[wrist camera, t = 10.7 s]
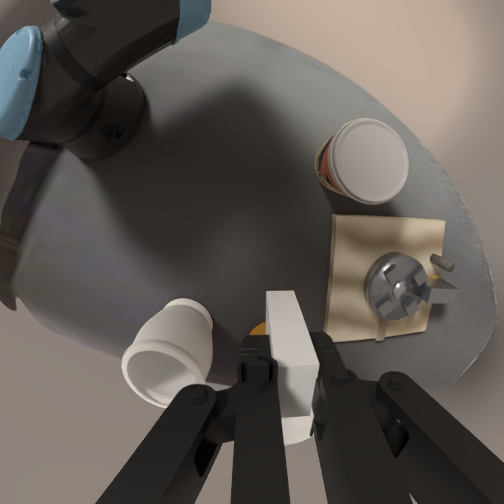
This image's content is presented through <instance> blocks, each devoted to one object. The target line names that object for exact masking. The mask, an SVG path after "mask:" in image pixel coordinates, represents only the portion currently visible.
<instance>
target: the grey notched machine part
mask: <svg viewBox="0 0 504 504" xmlns="http://www.w3.org/2000/svg"><path fill="white" fill-rule="evenodd" d="M363 291H364V297H365V300H366V302H367V303H368V305H369V306H370V307H371V308H372V309H373V311H374V312H375V313H376V314H377V315H378V316H379V317H381V318H382V319H385V320H389V321H394V320H399V319H402V318H404V317H406V316H409V317H411V316H412V315H413V314H415V313H416V312H417V311H418V310H419V307H418V305H419V304H420V302H421V300H424V301H425V302H426V303H455V302H456V298H457V295H458V292H459V289H458V288H456V287H455V286H453V285H451V284H450V283H448V282H446V281H445V280H443V279H432V278H428V276H427V274H426V272H425V269H424V267H423V266H422V264H421V263H420V262H419V261H417V260H416V259H414V258H412V257H410V256H408V255H407V254H405V253H402V252H390V253H387V254H385V255H383V256H381V257H380V258H378V259H377V260H376V261H375V262H374V263H373V264H372V266H371V267H370V269H369V270H368V272H367V274H366V277H365V280H364V287H363Z"/></svg>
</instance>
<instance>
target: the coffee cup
mask: <svg viewBox="0 0 504 504" xmlns="http://www.w3.org/2000/svg"><path fill="white" fill-rule="evenodd" d="M315 171H316V175H317V177H318V179H319V180H320V182H321V183H322V184H323V185H324V186H325V187H326V188H328V189H329V190H331V191H334V192H336V193H339V194H342V195H344V196H347V197H350V198H352V199H354V200H356V201H358V202H361V203H364V204H371V205H375V204H382V203H385V202H387V201H389V200H391V199H393V198H394V197H395V196H396V195H397V194H398V193H399V192H400V191H401V189H402V188H403V186H404V184H405V182H406V180H407V177H408V172H409V159H408V154H407V150H406V148H405V145H404V143H403V141H402V140H401V138H400V137H399V135H398V134H397V133H396V132H395V131H394V130H393V129H392V128H390V127H389V126H388V125H386V124H384V123H383V122H380V121H378V120H375V119H370V118H360V119H355V120H352V121H350V122H348V123H346V124H345V125H344V126H342V127H341V128H340V129H339V130H338V132H337V133H336V134H335V135H333V136H332V137H331V138H330V139H329V140H328V141H327V142H326V143H325V144H324V145H323V146H322V147H321V148H320V149H319V150H318V152H317V154H316V157H315Z"/></svg>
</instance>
